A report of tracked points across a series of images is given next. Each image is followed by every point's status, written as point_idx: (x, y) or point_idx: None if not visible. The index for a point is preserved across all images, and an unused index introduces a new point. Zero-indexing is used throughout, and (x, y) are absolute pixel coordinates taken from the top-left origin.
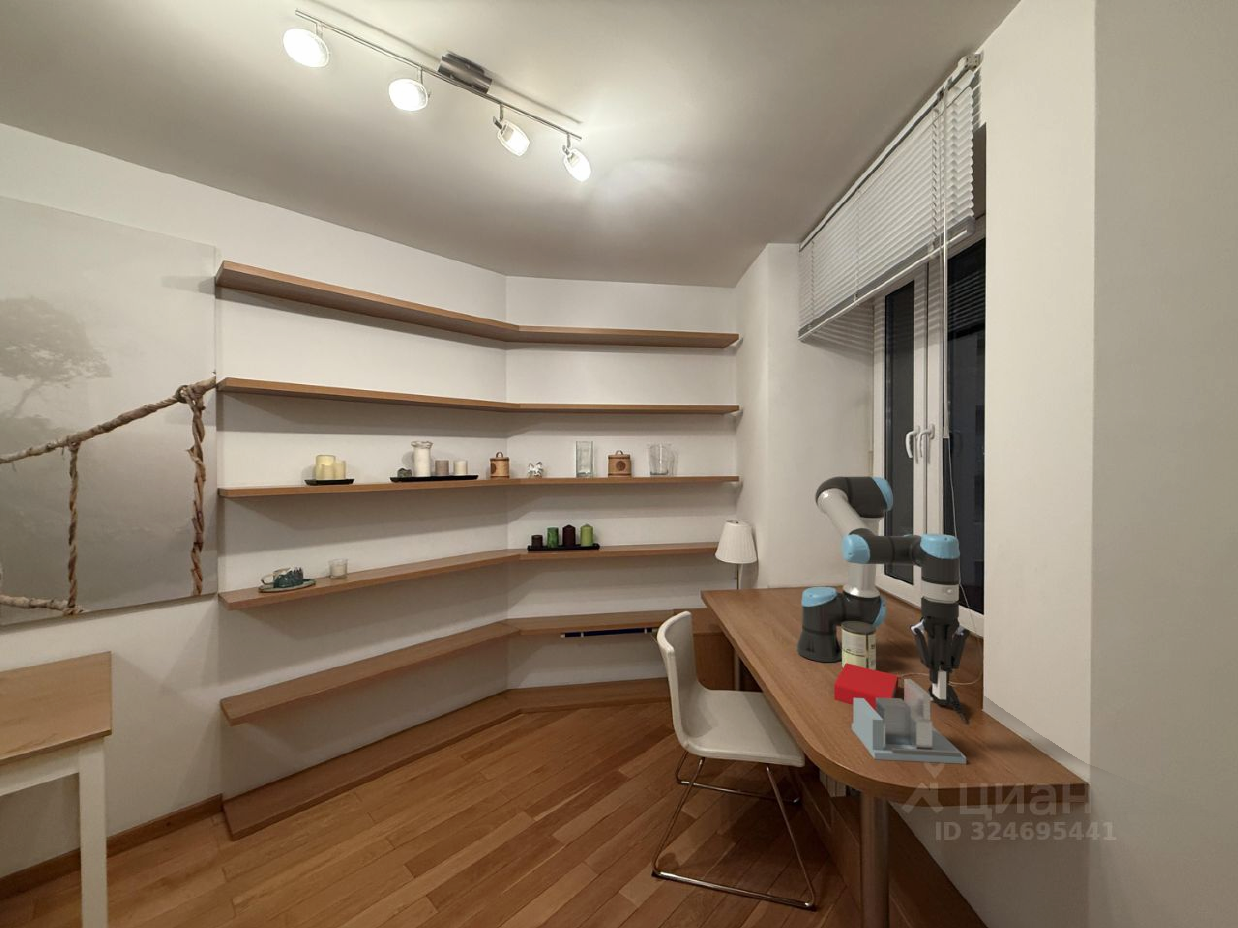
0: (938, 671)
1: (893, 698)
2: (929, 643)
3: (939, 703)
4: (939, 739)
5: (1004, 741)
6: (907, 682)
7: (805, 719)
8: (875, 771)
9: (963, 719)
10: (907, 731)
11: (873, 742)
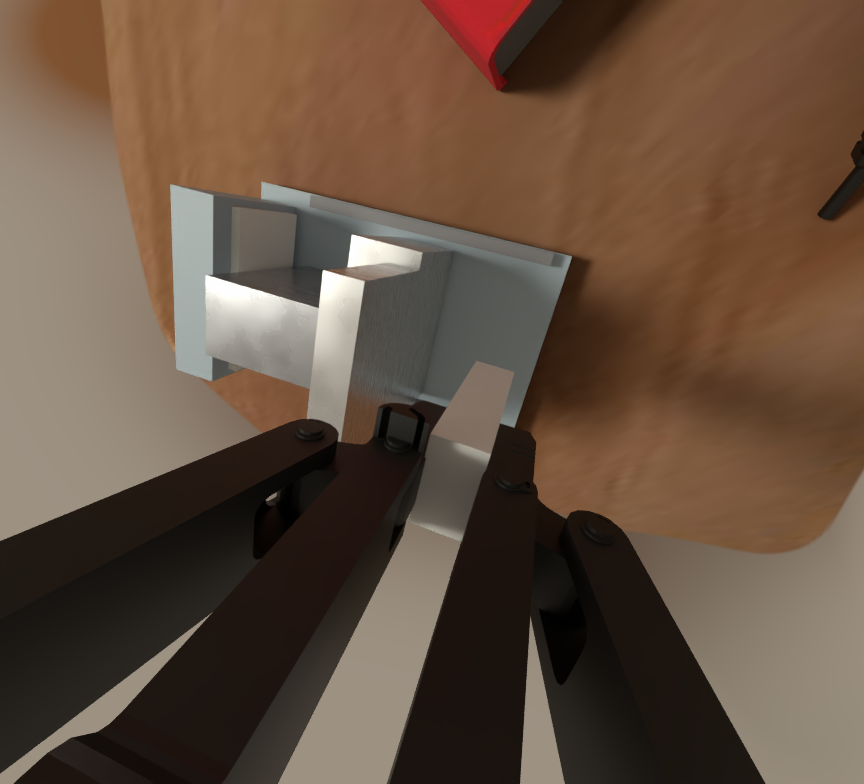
0: (414, 505)
1: (281, 302)
2: (188, 668)
3: None
4: (511, 340)
5: (830, 365)
6: (322, 311)
7: (146, 97)
8: (243, 393)
9: (831, 197)
10: None
11: None
